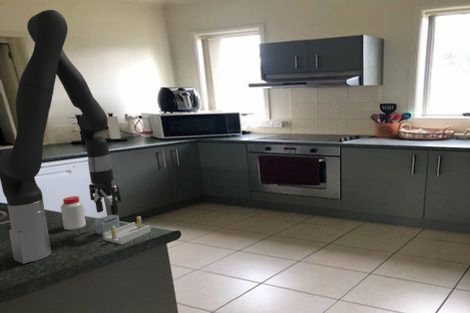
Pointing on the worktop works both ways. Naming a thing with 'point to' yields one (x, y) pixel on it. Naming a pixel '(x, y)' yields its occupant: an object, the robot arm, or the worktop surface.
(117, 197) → the robot arm
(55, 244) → the worktop surface
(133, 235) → the white peg stand
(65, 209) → the pill bottle
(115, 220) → the block
